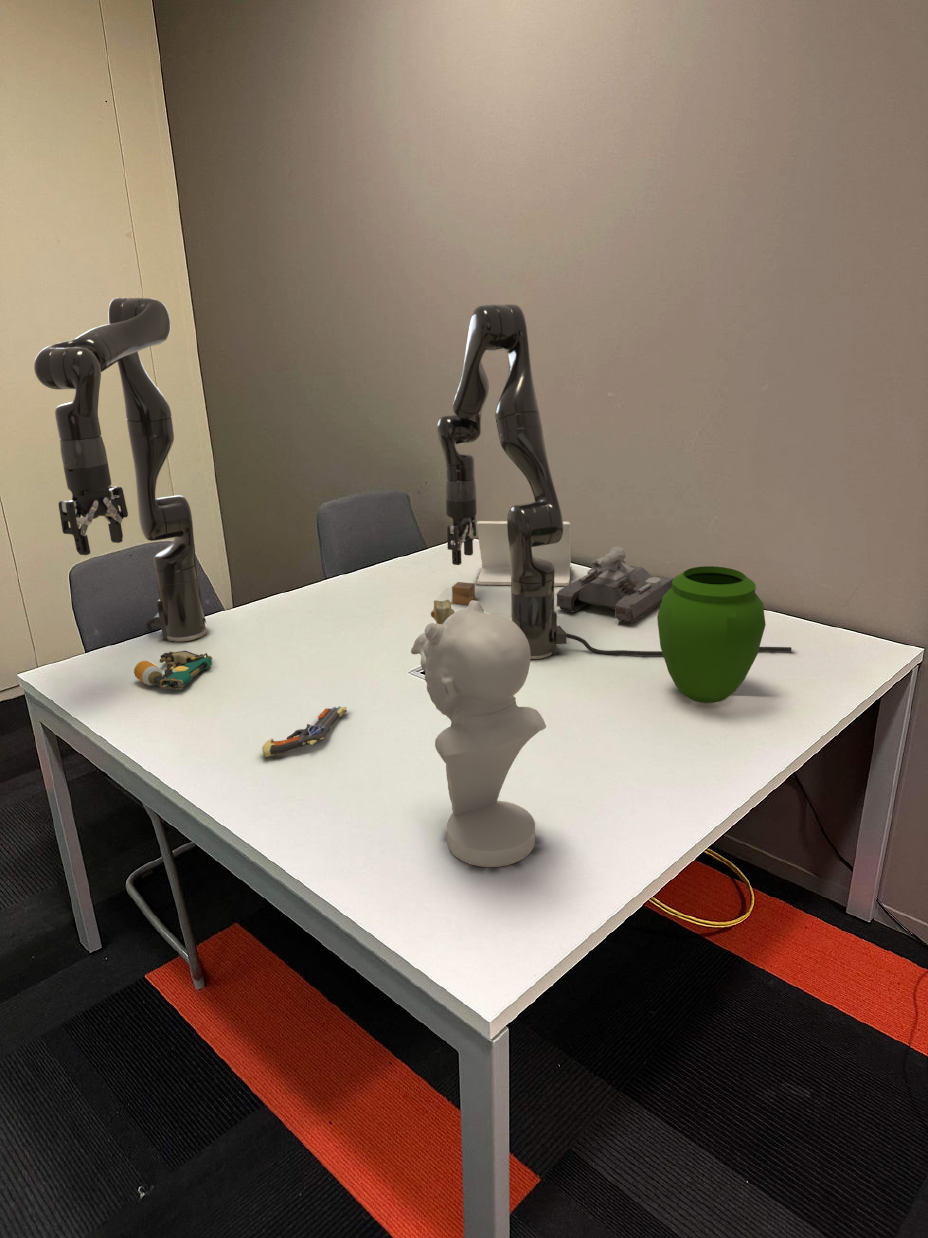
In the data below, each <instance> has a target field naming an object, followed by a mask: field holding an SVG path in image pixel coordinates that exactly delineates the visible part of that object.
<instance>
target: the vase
mask: <svg viewBox="0 0 928 1238" xmlns="http://www.w3.org/2000/svg"><path fill="white" fill-rule="evenodd" d="M673 578H674V579H673V580H672V588H671V589H670V590H669V591H667V592H666V593H665V595H664V596H663V598H662V602H661V604H660V605H659V608H658V613H657V617H656V618H657V626H658V639H659V647H660V651H662V653H663V659H664V662H665V665H666V668H667V671H668V674H669V677H670V678H671V679H672V681H673V683H674V686H675V687H676V689H678V690H679V692H680V693H681V694H682V695H683V696H684V698H687V699H689V700H690V701H693V702H696V703H700V704H716V703H717V704H718V703H720V702H724V701H725V700H727V699H728V698H729V697H730V696H732V695H733V694H734V693H735V692H736V691H737V690H738V688H739V687H740V686H741V685H742V683H743V682H744V681H745V680H746V678H747V675H748V674H749V672H750V670H751V668H752V666H753V664H754V662H755V660H756V658H757V656H758V654H759V651H758V650H759V647H761V643H762V639H763V636H764V632H765V629H766V626H767V624H766V615H765V609H764V602H763V601H762V599H761V598H760V597H759V595H758V594H757V593H756V588H757V585H756V583H755V582H754V581H753V580H752V579H751V578H750V577H748V576H746V574H744V573H743V572H742V571H739V570H736V569H734V568H730V567H724V566H712V565H711V566H707V565H705V566H696V567H691V568H687V569H686V570H684V571H683V572H681V573H680V574H678V575H676V576H675V577H673Z"/></svg>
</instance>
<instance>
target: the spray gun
mask: <svg viewBox="0 0 928 1238" xmlns="http://www.w3.org/2000/svg"><path fill="white" fill-rule="evenodd" d="M212 660H213V657H212V656H211V655H208V653H207V652H205V653H201V654H197V653H194V652H192V651H191V652H190V651H188V650H180V651H169V652H164V653H162V654H161V655H160V658H159V660H158V662H159V663H161V664H163V663H165V664H166V668H165V670H163V672H164V674H163V673H162V669H160V668H159V666H157V665H156V664H154V663H152V662H151V661H149V660H141V661H139V662H138V663H136V665H135V666H134V668H133V675H134V677H135V678H136V679H137V680H139V681H140V682H142V683H143V684H145V685H147V686H155V685H157V686H158V687H160V688H161V689H171V690H172V689H173V690H182V689H184V687H185V686H186V685H188V684H189V683H190V682H191V681H192V679H193V678H195V677H196V676H197V675H198V674H200V673H201V672H202V671H203V670H206V669H208V668H209V667H210V666H211V665H212V662H213V661H212ZM178 663H179V664H181V665H179V666H176V665H177V664H178Z"/></svg>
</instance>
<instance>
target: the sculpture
mask: <svg viewBox="0 0 928 1238" xmlns="http://www.w3.org/2000/svg"><path fill="white" fill-rule="evenodd" d="M455 612H456V611H455V609H453V608H452V602H451V601H450V599H445V600H433V610H431V612H430V617H431V618H432V619H433V620H434V621H435V622H436V623H435V624H443V623H444V622H445V620H446V619H447V618H448V617H450V616H451V615H452V614H453V613H455Z"/></svg>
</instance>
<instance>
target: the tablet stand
mask: <svg viewBox="0 0 928 1238" xmlns="http://www.w3.org/2000/svg"><path fill="white" fill-rule="evenodd" d="M476 532H477V537H478V544H479V551H480V557H481V558H480V559H481V570H480V573H479V575H478V577H477V580H476V581H477V582H476V584H478V585H484V586H485V585H486V586H487V585H489V586H490V585H491V586H511V568H510V563H509V547H508V532H507V520H505V521H504V520H477V521H476ZM532 556H533V557H535V558H540V559H544V560H547V561H549V562H551V563H552V564H553V565H554V587H556V586H557V587H566V586H567V585H569V584H570V580H571V579H570V578H571V565H572V564H571V560H572V558H571V522H569V521H563V535H562V538H561V540H560V541H559V542H558V543H555V544H550V545H544V546H537V547H532Z"/></svg>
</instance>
